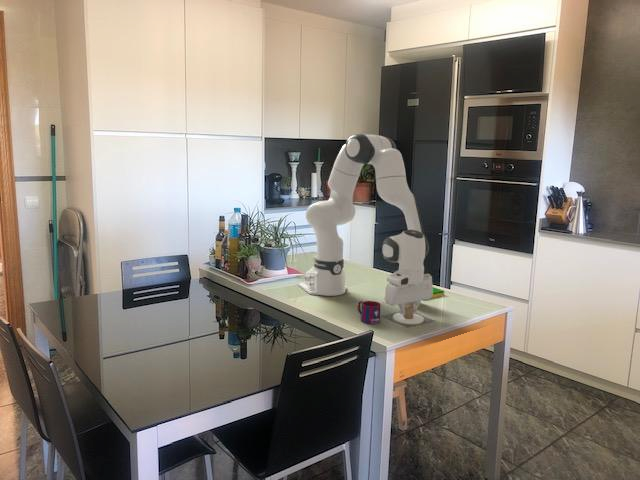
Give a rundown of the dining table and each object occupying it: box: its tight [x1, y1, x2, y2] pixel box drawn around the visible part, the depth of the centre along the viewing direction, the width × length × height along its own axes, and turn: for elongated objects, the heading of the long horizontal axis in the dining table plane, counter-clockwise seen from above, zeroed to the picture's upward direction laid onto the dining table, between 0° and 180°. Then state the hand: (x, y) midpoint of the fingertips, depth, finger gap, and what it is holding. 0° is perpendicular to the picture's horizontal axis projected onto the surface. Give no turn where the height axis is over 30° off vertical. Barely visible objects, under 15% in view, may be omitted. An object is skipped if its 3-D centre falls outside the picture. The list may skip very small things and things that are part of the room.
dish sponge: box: [431, 286, 445, 299], centre depth 219 cm, size 7×14×2 cm, turn 123°
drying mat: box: [381, 311, 436, 329], centre depth 189 cm, size 14×14×1 cm
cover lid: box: [393, 305, 424, 326], centre depth 187 cm, size 11×11×5 cm
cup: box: [357, 300, 381, 325], centre depth 185 cm, size 7×10×7 cm
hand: (408, 313), depth 187 cm, fingers closed on cover lid, 4 cm apart
